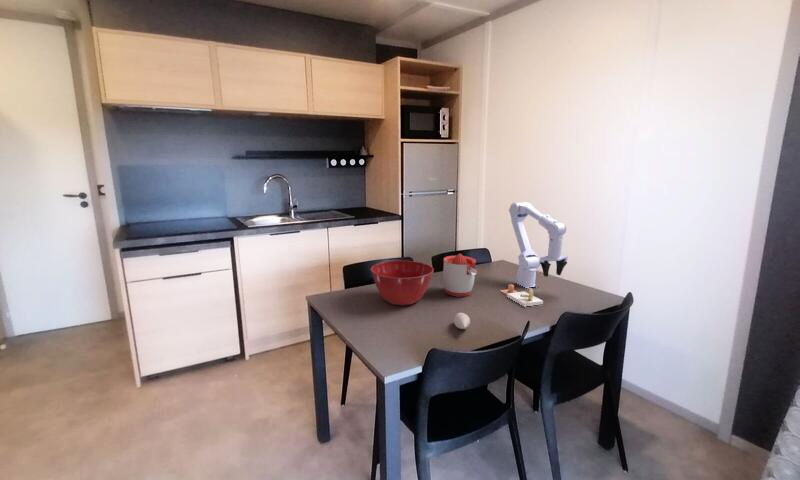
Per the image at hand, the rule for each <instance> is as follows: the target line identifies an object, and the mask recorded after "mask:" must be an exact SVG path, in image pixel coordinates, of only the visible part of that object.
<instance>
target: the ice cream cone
mask: <svg viewBox="0 0 800 480" xmlns="http://www.w3.org/2000/svg"><path fill="white" fill-rule="evenodd" d="M453 322H454V325H455V327H456V328H457V329H460V330H465V329H467V328H468V327H469V326H470V324H471V319H470V317H469V315H468V314H467V313H464V312H458V313H456V314H455V317H454V321H453Z"/></svg>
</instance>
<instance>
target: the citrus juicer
mask: <svg viewBox="0 0 800 480" xmlns="http://www.w3.org/2000/svg"><path fill="white" fill-rule="evenodd" d="M442 260H443V271H442V272H443V273H442V277H443V278H442V281H443V285H444V286H443V287H444V290H445V293H446V294H447V295H449V296H454V297H457V298H460V297H467V296H469V295H470V294H471V292H472V290H473V287H474V283H475V275H477V273H478V271H477V270H476V263H477V260H476V259H475V258H473V257H470V256H466V255H463V254H462V253H458V254H457V255H447V256H445V257H444V258H443V259H442Z"/></svg>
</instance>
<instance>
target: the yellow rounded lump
mask: <svg viewBox="0 0 800 480" xmlns="http://www.w3.org/2000/svg"><path fill="white" fill-rule="evenodd" d="M528 293H529V295H520V297H528V300H529V301H532V300H533V296H534V288H528Z"/></svg>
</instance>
